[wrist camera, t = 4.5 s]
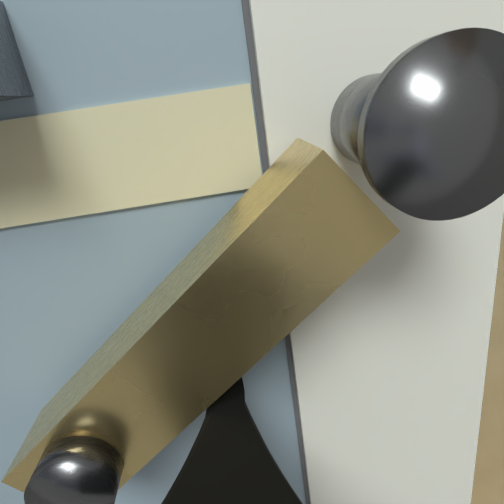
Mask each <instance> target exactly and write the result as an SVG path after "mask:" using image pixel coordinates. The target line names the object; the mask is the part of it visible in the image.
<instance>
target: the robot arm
mask: <svg viewBox="0 0 504 504" xmlns="http://www.w3.org/2000/svg"><path fill="white" fill-rule="evenodd" d="M161 504H303V503H302V502H301V500H300V499H299V497H298V496H297V494H296V493H295V492H294V490H293V489H292V487H291V486H290V484H289V483H288V481H287V479H286V478H285V476H284V475H283V473H282V471H281V470H280V468H279V467H278V465H277V463H276V461H275V460H274V458H273V456H272V455H271V453H270V451H269V449H268V447H267V446H266V444H265V442H264V440H263V438H262V436H261V434H260V432H259V430H258V428H257V426H256V424H255V422H254V420H253V418H252V416H251V414H250V411H249V409H248V407H247V404H246V402H245V390H244V385H243V380H242V377H241V378H240V379H239V380H238V381H236V382H235V383H234V384H233V385H232V386H231V387H230V388H229V389H228V390H227V391H226V392H224V393H223V394H222V395H221V396H220V397H219V398H218V399H217V400H216V401H215V402H214V403H212V404H211V405H210V406H209V407H208V408H207V409H206V415H205V418H204V421H203V423H202V426H201V428H200V431H199V433H198V435H197V438H196V440H195V442H194V444H193V446H192V448H191V450H190V452H189V455H188V457H187V459H186V461H185V463H184V465H183V466H182V468H181V470H180V472H179V474H178V476H177V478H176V479H175V481H174V483H173V485H172V486H171V488H170V490H169V492H168V493H167V495H166V497H165V498H164V500H163V502H162V503H161Z"/></svg>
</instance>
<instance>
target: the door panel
mask: <svg viewBox="0 0 504 504" xmlns="http://www.w3.org/2000/svg"><path fill="white" fill-rule="evenodd" d="M0 1H2V2H3V3H4V6H5V9H6V12H7V15H8V18H9V21H10V24H11V27H12V30H13V33H14V36H15V40H16V43H17V46H18V49H19V52H20V55H21V58H22V61H23V64H24V67H25V70H26V73H27V76H28V79H29V82H30V85H31V88H32V91H33V94H34V96H32V97H25V98H18V99H12V100H5V101H0V504H25V502H24V492H22V491H19V490H17V489H15V488H13V487H11V486H9V485H7V484H4V483H2V482H1V481H2V479H3V477H4V476H5V474H6V472H7V470H8V469H9V467H10V465H11V463H12V461H13V460H14V458H15V456H16V454H17V452H18V451H19V449H20V447H21V445H22V444H23V442H24V440H25V438H26V436H27V435H28V433H29V431H30V429H31V427H32V426H33V424H34V422H35V420H36V419H37V417H38V415H39V413H40V411H41V410H42V408H43V407H44V406H45V405H46V404H47V403H48V402H49V401H50V400H51V399H52V398H53V397H54V396H55V395H56V393H57V392H58V391H59V390H60V389H61V388H62V387H63V386H64V385H65V384H66V383H67V382H68V381H69V380H70V379H71V378H72V377H73V375H74V374H75V373H76V372H77V371H78V370H79V369H80V368H81V367H82V366H83V365H84V364H85V363H86V362H87V361H88V360H89V358H90V357H91V356H92V355H93V354H94V353H95V352H96V351H97V350H98V349H99V348H100V347H101V346H102V345H103V344H104V343H105V341H106V340H107V339H108V338H109V337H110V336H111V335H112V334H113V333H114V332H115V331H116V330H117V329H118V328H119V327H120V326H121V325H122V323H123V322H124V321H125V320H126V319H127V318H128V317H129V316H130V315H131V314H132V313H133V312H134V311H135V310H136V309H137V308H138V306H139V305H140V304H141V303H142V302H143V301H144V300H145V299H146V298H147V297H148V296H149V295H150V294H151V293H152V292H153V291H154V289H155V288H156V287H157V286H158V285H159V284H160V283H161V282H162V281H163V280H164V279H165V278H166V277H167V276H168V275H169V274H170V273H171V271H172V270H173V269H174V268H175V267H176V266H177V265H178V264H179V263H180V262H181V261H182V260H183V259H184V258H185V257H186V256H187V254H188V253H189V252H190V251H191V250H192V249H193V248H194V247H195V246H196V245H197V244H198V243H199V242H200V241H201V240H202V239H203V237H204V236H205V235H206V234H207V233H208V232H209V231H210V230H211V229H212V228H213V227H214V226H215V225H216V224H217V223H218V222H219V221H220V219H221V218H222V217H223V216H224V215H225V214H226V213H227V212H228V211H229V210H230V209H231V208H232V207H233V206H234V205H235V204H236V202H237V201H238V200H239V199H240V198H241V197H242V196H243V195H244V194H245V193H246V192H247V191H248V190H249V189H250V188H251V187H252V185H253V184H254V183H255V182H256V181H257V180H258V179H259V178H260V177H261V176H262V175H263V174H264V173H265V172H266V171H267V170H268V169H269V167H270V166H271V165H272V164H273V163H274V162H275V161H276V160H277V159H278V158H279V157H280V156H281V155H282V154H283V153H284V152H285V150H286V149H287V148H288V147H289V146H290V145H291V144H292V143H293V142H294V141H295V140H296V139H297V138H300V139H302V140H304V141H306V142H308V143H310V144H313V145H315V146H317V147H319V148H321V149H323V150H324V151H325V152H326V153H327V154H328V155H329V156H330V157H331V158H332V159H333V160H334V161H335V162H336V164H337V165H338V166H339V167H340V168H341V169H342V170H343V171H344V172H345V173H346V174H347V175H348V176H349V177H350V178H351V179H352V181H353V182H354V183H355V184H356V185H357V186H358V187H359V188H360V189H361V190H362V191H363V192H364V193H365V194H366V195H367V196H368V198H369V199H370V200H371V201H372V202H373V203H374V204H375V205H376V206H377V207H378V208H379V209H380V210H381V211H382V212H383V213H384V214H385V216H386V217H387V218H388V219H389V220H390V221H391V222H392V223H393V224H394V225H395V226H396V227H397V228H398V229H399V230H400V232H399V233H398V234H397V235H396V236H395V237H394V238H392V239H391V240H390V241H389V242H388V243H387V244H386V245H385V246H384V247H383V248H382V249H380V250H379V251H378V252H377V253H376V254H375V255H374V256H373V257H372V258H371V259H370V260H368V261H367V262H366V263H365V264H364V265H363V266H362V267H361V268H360V269H359V270H358V271H356V272H355V273H354V274H353V275H352V276H351V277H350V278H349V279H348V280H347V281H346V282H344V283H343V284H342V285H341V286H340V287H339V288H338V289H337V290H336V291H335V292H334V293H332V294H331V295H330V296H329V297H328V298H327V299H326V300H325V301H324V302H323V303H322V304H320V305H319V306H318V307H317V308H316V309H315V310H314V311H313V312H312V313H311V314H310V315H308V316H307V317H306V318H305V319H304V320H303V321H302V322H301V323H300V324H299V325H298V326H296V327H295V328H294V329H293V330H292V331H291V332H290V333H289V334H288V335H287V336H286V337H284V338H283V339H282V340H281V341H280V342H279V343H278V344H277V345H276V346H275V347H274V348H272V349H271V350H270V351H269V352H268V353H267V354H266V355H265V356H264V357H263V358H262V359H260V360H259V361H258V362H257V363H256V364H255V365H254V366H253V367H252V368H251V369H250V370H248V371H247V372H246V373H245V374H244V375H243V376H242V380H243V385H244V390H245V402H246V404H247V407H248V409H249V411H250V414H251V416H252V418H253V420H254V422H255V424H256V426H257V428H258V430H259V432H260V434H261V436H262V438H263V440H264V442H265V444H266V446H267V447H268V449H269V451H270V453H271V455H272V456H273V458H274V460H275V461H276V463H277V465H278V467H279V468H280V470H281V471H282V473H283V475H284V476H285V478H286V479H287V481H288V483H289V484H290V486H291V487H292V489H293V490H294V492H295V493H296V494H297V496H298V497H299V499H300V500H301V502H302V503H303V504H471V496H472V487H473V478H474V469H475V460H476V451H477V443H478V434H479V425H480V416H481V407H482V399H483V390H484V381H485V372H486V363H487V354H488V346H489V337H490V328H491V319H492V310H493V301H494V293H495V284H496V275H497V266H498V257H499V248H500V240H501V231H502V222H503V213H504V194H503V195H502V196H500V197H499V198H498V199H496V200H495V201H494V202H492V203H491V204H489V205H488V206H486V207H484V208H483V209H481V210H479V211H477V212H475V213H472V214H470V215H467V216H464V217H461V218H456V219H452V220H443V221H430V220H424V219H419V218H416V217H413V216H410V215H408V214H406V213H404V212H402V211H400V210H398V209H397V208H395V207H393V206H392V205H390V204H389V203H387V202H386V201H384V200H383V199H382V198H381V197H380V196H379V195H378V194H377V193H376V192H375V191H374V190H373V188H372V187H371V186H370V184H369V183H368V181H367V179H366V177H365V175H364V173H363V170H362V167H361V165H360V164H357V163H355V162H353V161H351V160H349V159H347V158H346V157H345V156H343V155H342V154H341V153H340V151H339V150H338V149H337V147H336V146H335V144H334V141H333V139H332V135H331V130H330V119H331V113H332V109H333V107H334V104H335V102H336V100H337V98H338V97H339V95H340V94H341V92H342V91H343V90H344V89H345V88H346V87H347V86H348V85H349V84H350V83H352V82H353V81H355V80H357V79H358V78H360V77H363V76H366V75H370V74H376V73H382V72H383V71H384V70H385V69H386V67H387V66H388V65H389V64H390V63H391V62H392V61H393V60H394V59H395V58H396V57H397V56H399V55H400V54H401V53H402V52H404V51H405V50H407V49H408V48H409V47H411V46H413V45H414V44H416V43H418V42H420V41H422V40H424V39H427V38H430V37H432V36H435V35H438V34H442V33H445V32H449V31H453V30H458V29H462V28H475V27H476V28H487V29H491V30H495V31H499V32H501V33H504V0H0ZM205 415H206V410H205V411H204V412H203V413H202V414H200V415H199V416H198V417H197V418H196V419H195V420H194V421H193V422H192V423H191V424H190V425H188V426H187V427H186V428H185V429H184V430H183V431H182V432H181V433H180V434H179V435H178V436H176V437H175V438H174V439H173V440H172V441H171V442H170V443H169V444H168V445H167V446H166V447H164V448H163V449H162V450H161V451H160V452H159V453H158V454H157V455H156V456H155V457H154V458H152V459H151V460H150V461H149V462H148V463H147V464H146V465H145V466H144V467H143V468H142V469H140V470H139V471H138V472H137V473H136V474H135V475H134V476H133V477H132V478H131V479H130V480H128V481H127V482H126V483H125V484H124V485H123V486H122V487H121V488H120V489H119V490H118V491H117V495H116V499H115V503H114V504H161V503H162V502H163V500H164V498H165V497H166V495H167V493H168V492H169V490H170V488H171V486H172V485H173V483H174V481H175V479H176V478H177V476H178V474H179V472H180V470H181V468H182V466H183V465H184V463H185V461H186V459H187V457H188V455H189V452H190V450H191V448H192V446H193V444H194V442H195V440H196V438H197V435H198V433H199V431H200V428H201V426H202V423H203V421H204V418H205Z"/></svg>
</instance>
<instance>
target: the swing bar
mask: <svg viewBox="0 0 504 504" xmlns="http://www.w3.org/2000/svg"><path fill="white" fill-rule="evenodd" d="M399 232H400V230H399V229H398V228H397V227H396V226H395V225H394V224H393V223H392V222H391V221H390V220H389V219H388V218H387V217H386V216H385V214H384V213H383V212H382V211H381V210H380V209H379V208H378V207H377V206H376V205H375V204H374V203H373V202H372V201H371V200H370V199H369V198H368V196H367V195H366V194H365V193H364V192H363V191H362V190H361V189H360V188H359V187H358V186H357V185H356V184H355V183H354V182H353V181H352V179H351V178H350V177H349V176H348V175H347V174H346V173H345V172H344V171H343V170H342V169H341V168H340V167H339V166H338V165H337V164H336V162H335V161H334V160H333V159H332V158H331V157H330V156H329V155H328V154H327V153H326V152H325V151H324V150H323V149H321V148H319V147H317V146H315V145H313V144H310V143H308V142H306V141H304V140H302V139H300V138H297V139H296V140H295V141H294V142H293V143H292V144H291V145H290V146H289V147H288V148H287V149H286V150H285V152H284V153H283V154H282V155H281V156H280V157H279V158H278V159H277V160H276V161H275V162H274V163H273V164H272V165H271V166H270V167H269V169H268V170H267V171H266V172H265V173H264V174H263V175H262V176H261V177H260V178H259V179H258V180H257V181H256V182H255V183H254V184H253V185H252V187H251V188H250V189H249V190H248V191H247V192H246V193H245V194H244V195H243V196H242V197H241V198H240V199H239V200H238V201H237V202H236V204H235V205H234V206H233V207H232V208H231V209H230V210H229V211H228V212H227V213H226V214H225V215H224V216H223V217H222V218H221V219H220V221H219V222H218V223H217V224H216V225H215V226H214V227H213V228H212V229H211V230H210V231H209V232H208V233H207V234H206V235H205V236H204V237H203V239H202V240H201V241H200V242H199V243H198V244H197V245H196V246H195V247H194V248H193V249H192V250H191V251H190V252H189V253H188V254H187V256H186V257H185V258H184V259H183V260H182V261H181V262H180V263H179V264H178V265H177V266H176V267H175V268H174V269H173V270H172V271H171V273H170V274H169V275H168V276H167V277H166V278H165V279H164V280H163V281H162V282H161V283H160V284H159V285H158V286H157V287H156V288H155V289H154V291H153V292H152V293H151V294H150V295H149V296H148V297H147V298H146V299H145V300H144V301H143V302H142V303H141V304H140V305H139V306H138V308H137V309H136V310H135V311H134V312H133V313H132V314H131V315H130V316H129V317H128V318H127V319H126V320H125V321H124V322H123V323H122V325H121V326H120V327H119V328H118V329H117V330H116V331H115V332H114V333H113V334H112V335H111V336H110V337H109V338H108V339H107V340H106V341H105V343H104V344H103V345H102V346H101V347H100V348H99V349H98V350H97V351H96V352H95V353H94V354H93V355H92V356H91V357H90V358H89V360H88V361H87V362H86V363H85V364H84V365H83V366H82V367H81V368H80V369H79V370H78V371H77V372H76V373H75V374H74V375H73V377H72V378H71V379H70V380H69V381H68V382H67V383H66V384H65V385H64V386H63V387H62V388H61V389H60V390H59V391H58V392H57V393H56V395H55V396H54V397H53V398H52V399H51V400H50V401H49V402H48V403H47V404H46V405H45V406H44V407H43V408H42V410H41V411H40V413H39V415H38V417H37V419H36V420H35V422H34V424H33V426H32V427H31V429H30V431H29V433H28V435H27V436H26V438H25V440H24V442H23V444H22V445H21V447H20V449H19V451H18V452H17V454H16V456H15V458H14V460H13V461H12V463H11V465H10V467H9V469H8V470H7V472H6V474H5V476H4V477H3V479H2V481H1V482H2V483H4V484H7V485H9V486H11V487H13V488H15V489H17V490H19V491H22V492H24V502H25V504H114V503H115V499H116V495H117V491H118V490H119V489H120V488H121V487H122V486H123V485H124V484H125V483H126V482H127V481H128V480H130V479H131V478H132V477H133V476H134V475H135V474H136V473H137V472H138V471H139V470H140V469H142V468H143V467H144V466H145V465H146V464H147V463H148V462H149V461H150V460H151V459H152V458H154V457H155V456H156V455H157V454H158V453H159V452H160V451H161V450H162V449H163V448H164V447H166V446H167V445H168V444H169V443H170V442H171V441H172V440H173V439H174V438H175V437H176V436H178V435H179V434H180V433H181V432H182V431H183V430H184V429H185V428H186V427H187V426H188V425H190V424H191V423H192V422H193V421H194V420H195V419H196V418H197V417H198V416H199V415H200V414H202V413H203V412H204V411H205V410H206V409H207V408H208V407H209V406H210V405H211V404H212V403H214V402H215V401H216V400H217V399H218V398H219V397H220V396H221V395H222V394H223V393H224V392H226V391H227V390H228V389H229V388H230V387H231V386H232V385H233V384H234V383H235V382H236V381H238V380H239V379H240V378H241V377H242V376H243V375H244V374H245V373H246V372H247V371H248V370H250V369H251V368H252V367H253V366H254V365H255V364H256V363H257V362H258V361H259V360H260V359H262V358H263V357H264V356H265V355H266V354H267V353H268V352H269V351H270V350H271V349H272V348H274V347H275V346H276V345H277V344H278V343H279V342H280V341H281V340H282V339H283V338H284V337H286V336H287V335H288V334H289V333H290V332H291V331H292V330H293V329H294V328H295V327H296V326H298V325H299V324H300V323H301V322H302V321H303V320H304V319H305V318H306V317H307V316H308V315H310V314H311V313H312V312H313V311H314V310H315V309H316V308H317V307H318V306H319V305H320V304H322V303H323V302H324V301H325V300H326V299H327V298H328V297H329V296H330V295H331V294H332V293H334V292H335V291H336V290H337V289H338V288H339V287H340V286H341V285H342V284H343V283H344V282H346V281H347V280H348V279H349V278H350V277H351V276H352V275H353V274H354V273H355V272H356V271H358V270H359V269H360V268H361V267H362V266H363V265H364V264H365V263H366V262H367V261H368V260H370V259H371V258H372V257H373V256H374V255H375V254H376V253H377V252H378V251H379V250H380V249H382V248H383V247H384V246H385V245H386V244H387V243H388V242H389V241H390V240H391V239H392V238H394V237H395V236H396V235H397V234H398V233H399Z"/></svg>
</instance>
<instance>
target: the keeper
mask: <svg viewBox="0 0 504 504" xmlns="http://www.w3.org/2000/svg"><path fill="white" fill-rule="evenodd" d="M32 96H34V94H33V91H32V88H31V85H30V82H29V79H28V76H27V73H26V70H25V67H24V64H23V61H22V58H21V55H20V52H19V49H18V46H17V43H16V40H15V36H14V33H13V30H12V27H11V24H10V21H9V18H8V15H7V12H6V9H5V6H4V3H3V2H2V1H0V101H5V100H12V99H18V98H25V97H32Z"/></svg>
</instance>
